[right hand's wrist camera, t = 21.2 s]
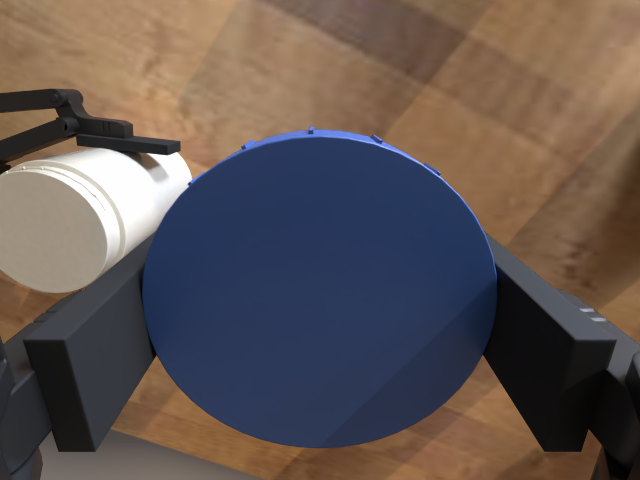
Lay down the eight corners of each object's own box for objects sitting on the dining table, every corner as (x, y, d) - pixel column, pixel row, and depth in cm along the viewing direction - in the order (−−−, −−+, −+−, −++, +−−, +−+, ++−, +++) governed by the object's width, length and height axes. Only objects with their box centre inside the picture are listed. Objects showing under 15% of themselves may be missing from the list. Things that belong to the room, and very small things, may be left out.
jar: (109, 125, 34) (-35, 145, 21) (200, 152, 35) (121, 189, 21) (100, 210, 37) (-32, 278, 23) (185, 233, 38) (106, 312, 24)
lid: (434, 418, 13) (450, 463, 12) (165, 390, 13) (143, 432, 11) (515, 154, 10) (553, 165, 9) (162, 104, 10) (130, 106, 8)
